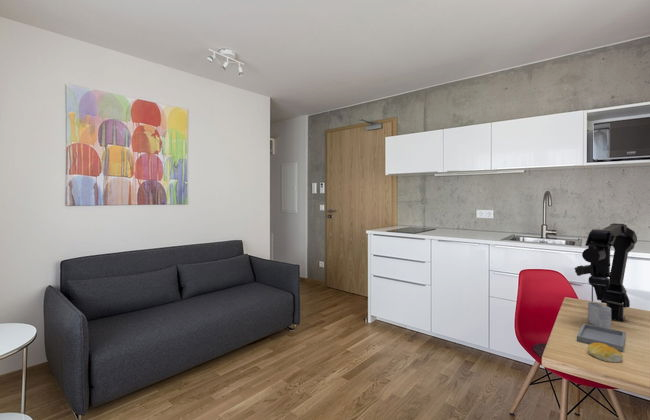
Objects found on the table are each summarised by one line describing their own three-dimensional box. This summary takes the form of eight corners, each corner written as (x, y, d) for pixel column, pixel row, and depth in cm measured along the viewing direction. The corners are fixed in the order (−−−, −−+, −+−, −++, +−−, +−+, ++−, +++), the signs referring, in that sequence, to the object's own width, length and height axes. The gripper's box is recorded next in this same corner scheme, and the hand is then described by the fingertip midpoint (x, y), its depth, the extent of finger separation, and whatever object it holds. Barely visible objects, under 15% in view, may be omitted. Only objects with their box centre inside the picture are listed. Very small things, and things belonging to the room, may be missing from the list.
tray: (583, 328, 133) (583, 323, 133) (625, 337, 124) (625, 332, 124) (576, 341, 120) (576, 335, 120) (623, 352, 112) (623, 346, 112)
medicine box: (611, 329, 131) (612, 308, 131) (598, 328, 132) (599, 307, 132) (599, 322, 139) (599, 302, 139) (587, 321, 140) (587, 301, 140)
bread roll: (603, 350, 113) (604, 339, 113) (628, 363, 104) (628, 350, 104) (580, 350, 113) (580, 339, 113) (602, 363, 104) (602, 350, 104)
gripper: (579, 255, 147) (578, 289, 148) (573, 260, 134) (572, 298, 134) (612, 258, 140) (611, 294, 140) (609, 264, 126) (608, 304, 127)
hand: (600, 297), depth 135 cm, fingers open, 9 cm apart
